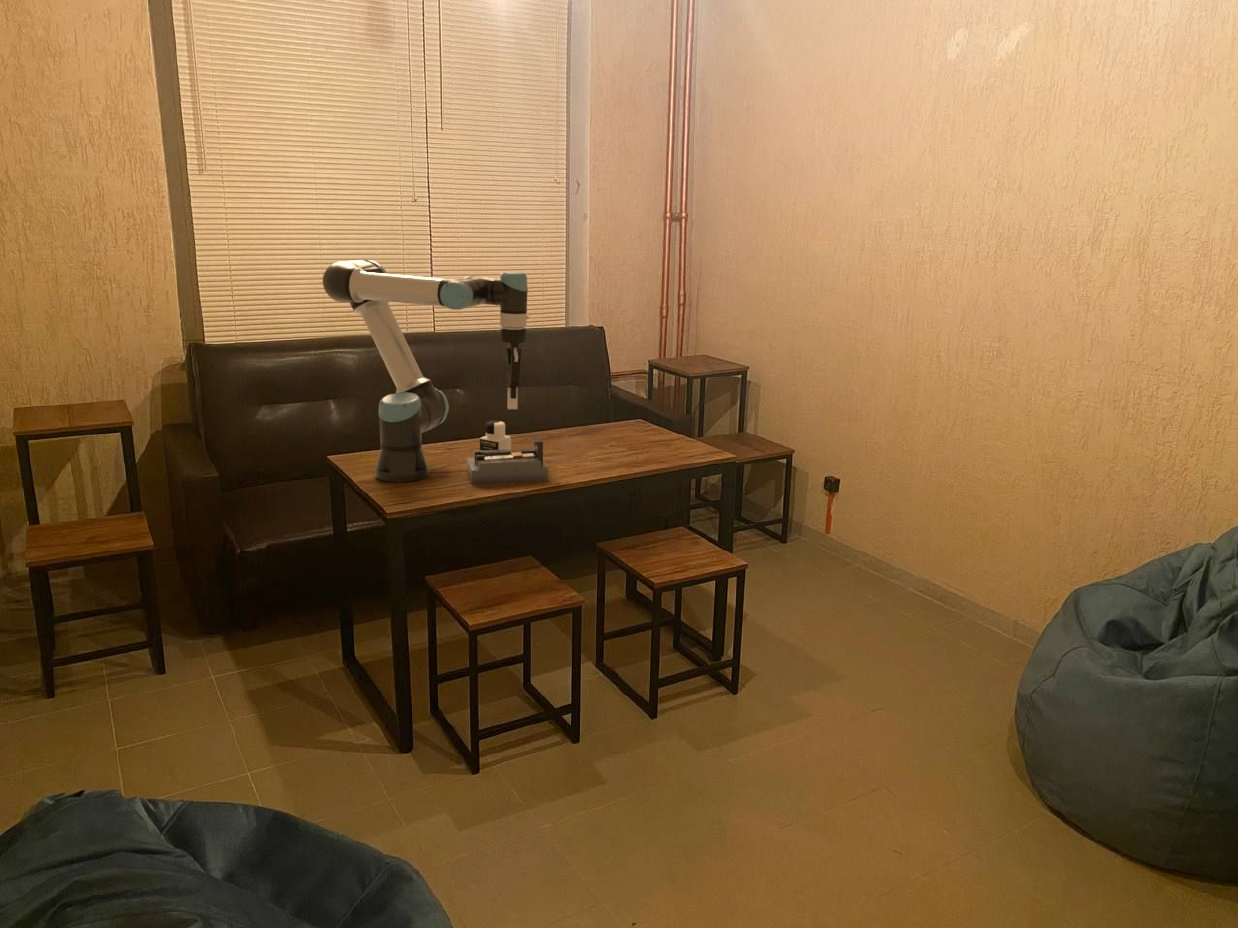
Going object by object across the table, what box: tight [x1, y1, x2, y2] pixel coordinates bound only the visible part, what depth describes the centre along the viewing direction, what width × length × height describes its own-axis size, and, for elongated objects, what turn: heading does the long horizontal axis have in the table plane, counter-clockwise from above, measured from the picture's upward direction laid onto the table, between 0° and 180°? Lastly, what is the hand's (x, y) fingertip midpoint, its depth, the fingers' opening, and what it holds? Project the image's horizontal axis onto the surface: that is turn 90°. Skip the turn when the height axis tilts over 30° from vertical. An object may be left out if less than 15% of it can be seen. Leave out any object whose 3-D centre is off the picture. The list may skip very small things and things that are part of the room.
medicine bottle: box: [479, 420, 512, 451], centre depth 280 cm, size 7×7×12 cm
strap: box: [485, 452, 535, 461], centre depth 264 cm, size 17×4×2 cm, turn 105°
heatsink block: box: [466, 437, 549, 485], centre depth 264 cm, size 22×14×10 cm, turn 105°
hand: (512, 408), depth 261 cm, fingers closed
